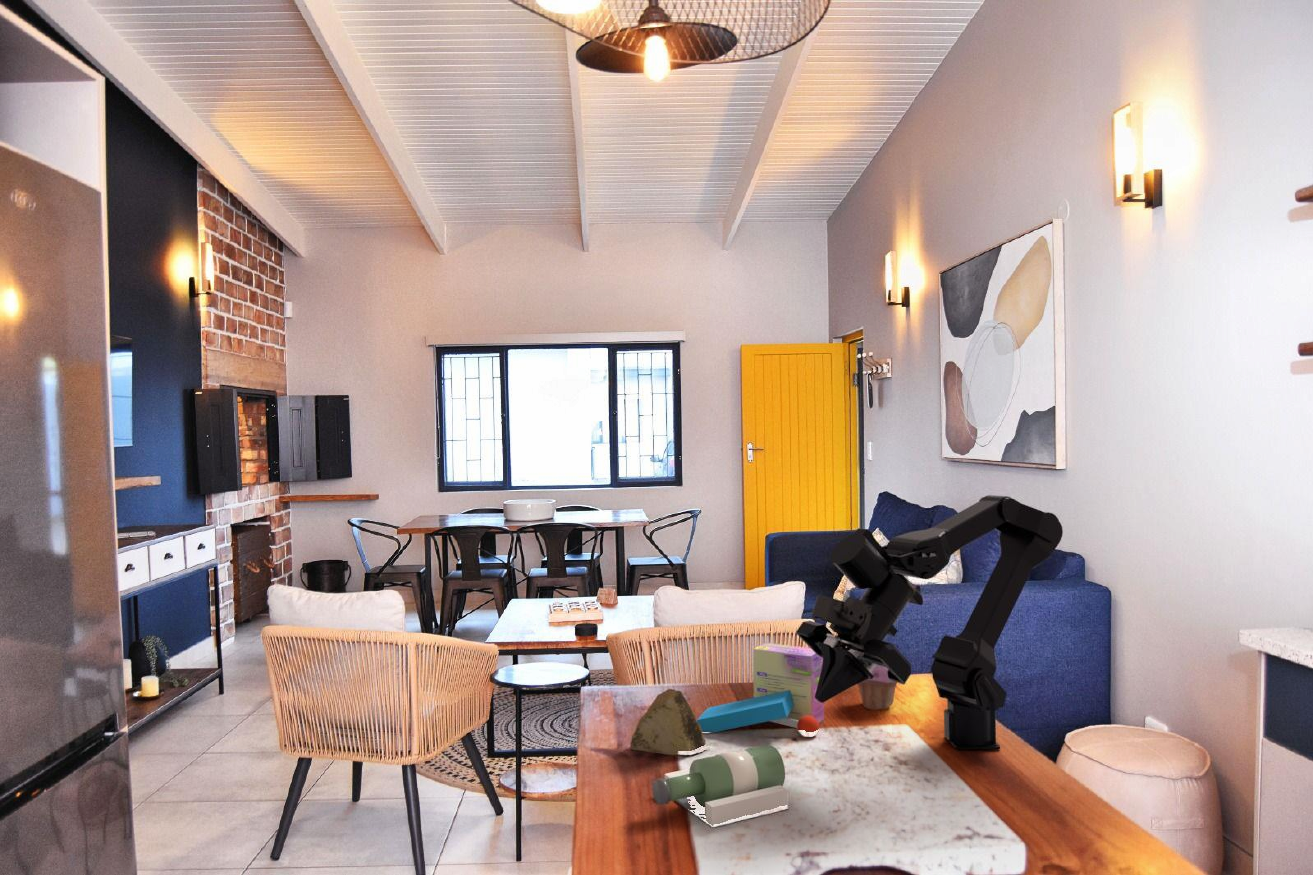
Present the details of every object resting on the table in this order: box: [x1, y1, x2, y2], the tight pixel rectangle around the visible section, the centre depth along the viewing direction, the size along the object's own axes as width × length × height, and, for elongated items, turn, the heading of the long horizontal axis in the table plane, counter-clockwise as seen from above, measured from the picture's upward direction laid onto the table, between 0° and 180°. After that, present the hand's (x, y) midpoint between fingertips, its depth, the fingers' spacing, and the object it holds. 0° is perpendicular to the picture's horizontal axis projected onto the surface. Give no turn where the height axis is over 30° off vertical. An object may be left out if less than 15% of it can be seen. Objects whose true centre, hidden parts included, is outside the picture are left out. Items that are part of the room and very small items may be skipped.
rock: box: [630, 688, 707, 756], centre depth 133 cm, size 11×9×10 cm
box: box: [752, 642, 825, 725], centre depth 146 cm, size 10×6×12 cm, turn 58°
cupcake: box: [857, 665, 898, 711], centre depth 152 cm, size 9×9×10 cm
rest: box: [664, 768, 789, 826], centre depth 113 cm, size 11×12×2 cm
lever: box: [696, 690, 820, 733], centre depth 140 cm, size 7×7×18 cm
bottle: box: [651, 744, 786, 807], centre depth 112 cm, size 6×6×17 cm
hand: (818, 700), depth 120 cm, fingers closed
